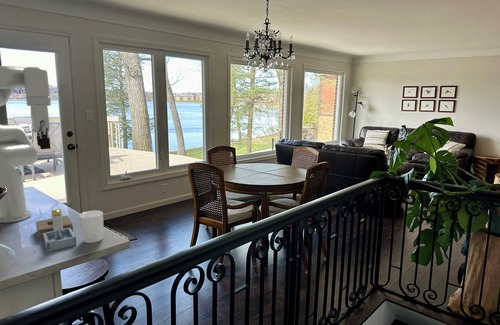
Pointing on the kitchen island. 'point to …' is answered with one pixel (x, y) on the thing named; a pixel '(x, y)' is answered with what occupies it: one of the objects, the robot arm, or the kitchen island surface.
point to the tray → (63, 243)
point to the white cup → (92, 226)
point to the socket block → (51, 225)
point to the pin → (57, 224)
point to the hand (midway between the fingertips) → (44, 147)
